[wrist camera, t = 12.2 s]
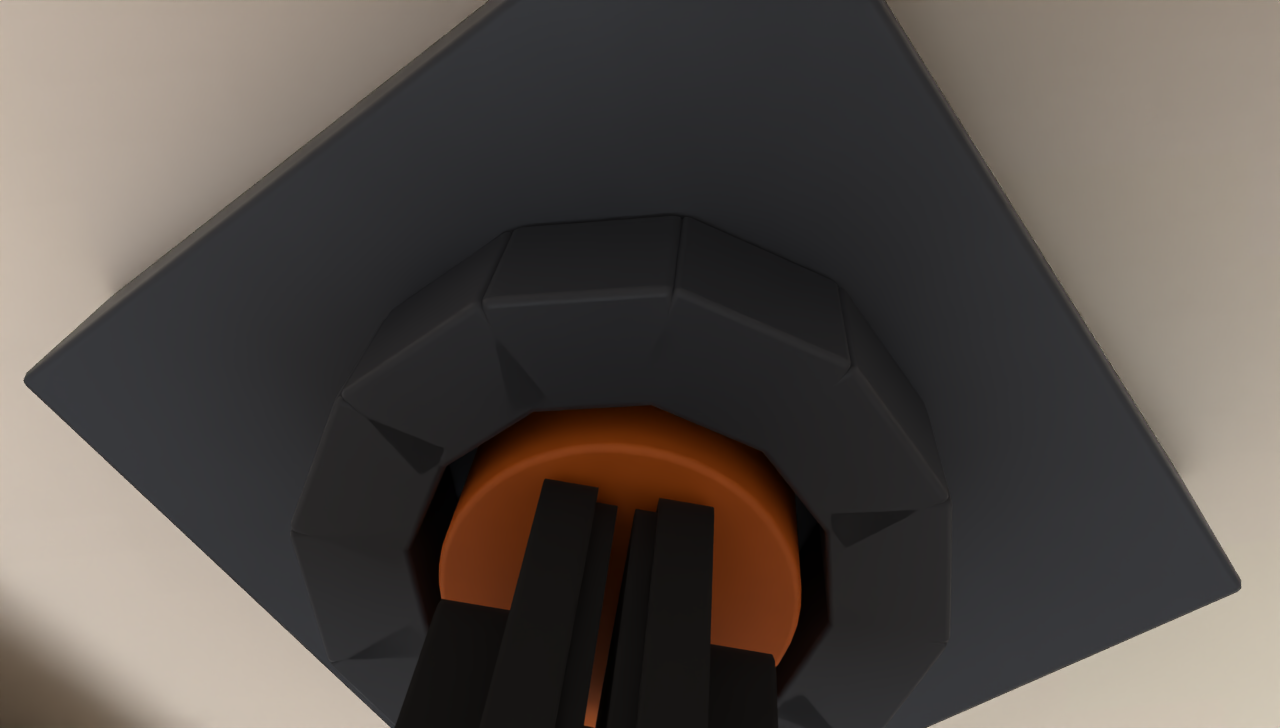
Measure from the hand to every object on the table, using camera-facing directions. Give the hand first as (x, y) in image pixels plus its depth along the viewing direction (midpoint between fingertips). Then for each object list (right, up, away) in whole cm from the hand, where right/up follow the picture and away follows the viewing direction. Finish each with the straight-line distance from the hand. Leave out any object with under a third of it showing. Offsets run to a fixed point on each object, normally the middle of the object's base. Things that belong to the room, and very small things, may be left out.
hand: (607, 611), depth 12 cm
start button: (0, +1, +1) cm, 2 cm away
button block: (0, +2, +4) cm, 4 cm away
